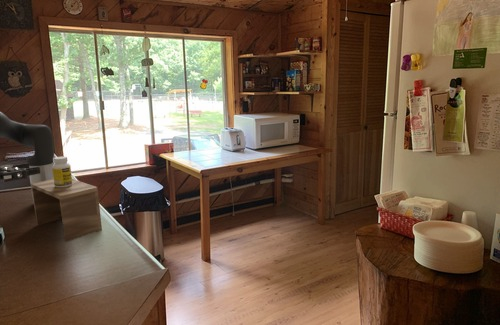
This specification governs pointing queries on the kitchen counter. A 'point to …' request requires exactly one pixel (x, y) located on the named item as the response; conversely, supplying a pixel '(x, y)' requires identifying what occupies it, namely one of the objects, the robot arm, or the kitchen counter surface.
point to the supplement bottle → (62, 172)
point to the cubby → (68, 207)
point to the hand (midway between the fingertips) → (34, 168)
